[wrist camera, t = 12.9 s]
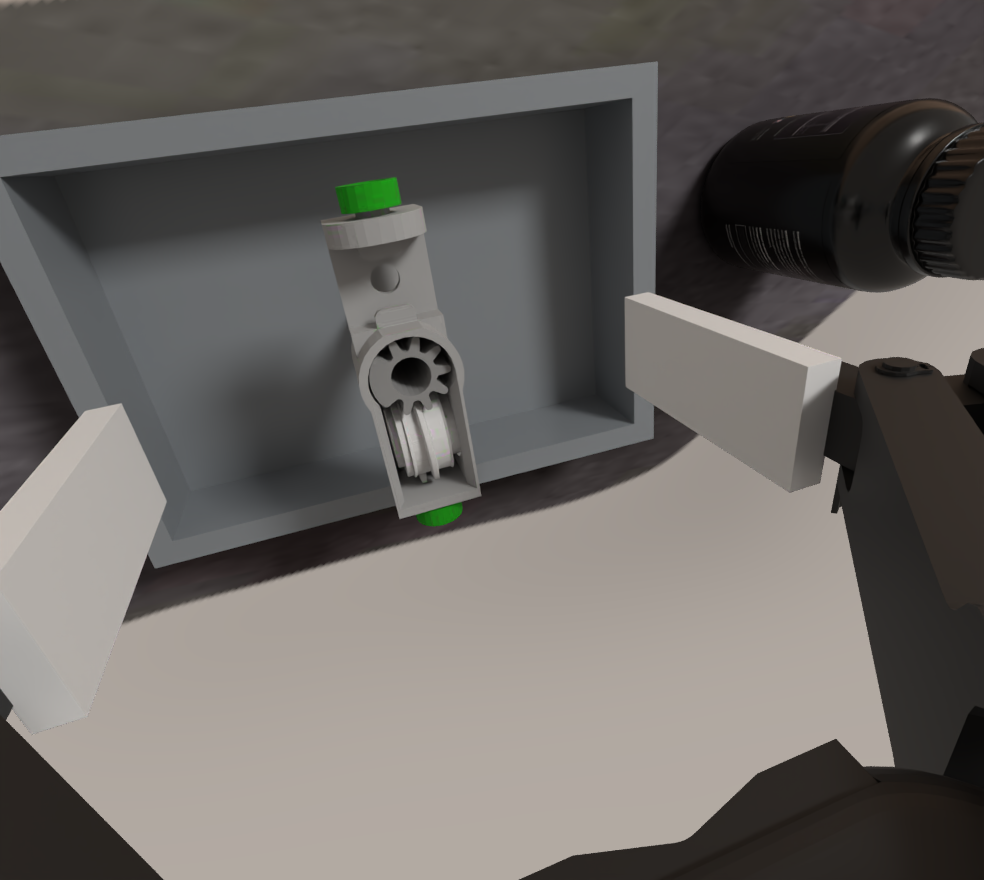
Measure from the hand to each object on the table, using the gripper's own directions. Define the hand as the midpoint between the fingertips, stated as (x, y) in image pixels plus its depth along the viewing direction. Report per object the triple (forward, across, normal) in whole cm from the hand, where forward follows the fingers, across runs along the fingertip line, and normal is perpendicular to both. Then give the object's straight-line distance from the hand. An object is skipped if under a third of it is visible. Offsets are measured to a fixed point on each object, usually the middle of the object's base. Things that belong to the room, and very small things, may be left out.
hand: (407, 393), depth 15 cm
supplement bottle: (+12, -20, -2) cm, 23 cm away
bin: (+12, -1, 0) cm, 12 cm away
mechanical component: (+11, -1, 0) cm, 11 cm away
